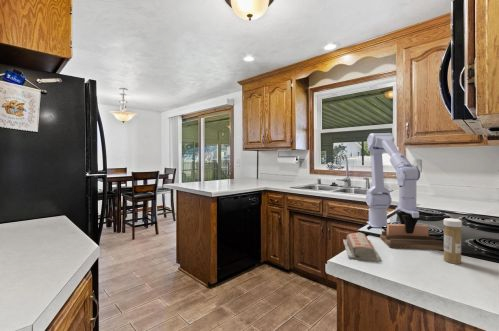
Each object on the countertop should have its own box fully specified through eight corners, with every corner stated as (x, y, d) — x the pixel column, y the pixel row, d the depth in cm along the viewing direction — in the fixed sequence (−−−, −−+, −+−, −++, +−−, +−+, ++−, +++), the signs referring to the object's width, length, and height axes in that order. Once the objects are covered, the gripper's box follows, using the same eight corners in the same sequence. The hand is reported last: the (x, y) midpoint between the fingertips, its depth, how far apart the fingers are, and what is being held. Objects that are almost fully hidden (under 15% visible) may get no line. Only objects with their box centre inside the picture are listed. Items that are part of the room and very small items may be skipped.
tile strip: (386, 236, 102) (386, 223, 102) (425, 237, 100) (425, 224, 99) (388, 238, 100) (388, 225, 100) (428, 239, 97) (428, 226, 97)
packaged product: (381, 248, 82) (348, 246, 84) (381, 262, 82) (348, 260, 85) (369, 231, 99) (342, 230, 102) (369, 243, 100) (342, 242, 102)
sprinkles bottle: (464, 265, 78) (464, 221, 78) (446, 263, 80) (446, 220, 79) (457, 259, 83) (458, 218, 82) (440, 257, 84) (441, 217, 84)
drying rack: (380, 238, 104) (380, 230, 104) (428, 239, 101) (428, 232, 101) (389, 247, 94) (389, 239, 94) (444, 250, 90) (444, 241, 90)
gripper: (389, 194, 107) (389, 226, 107) (404, 200, 93) (403, 237, 93) (408, 194, 106) (408, 226, 106) (425, 200, 91) (425, 237, 92)
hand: (407, 231), depth 100 cm, fingers open, 3 cm apart
